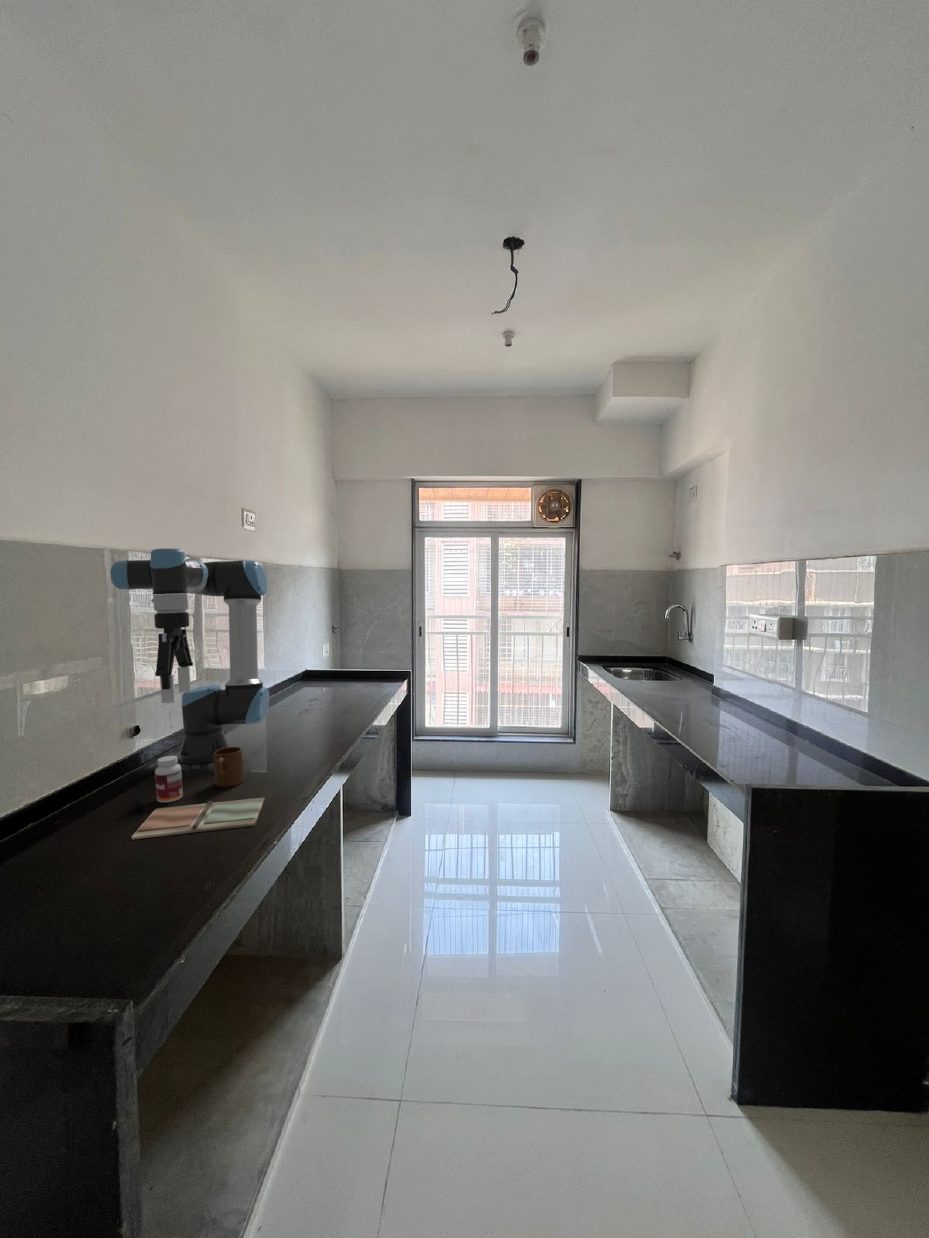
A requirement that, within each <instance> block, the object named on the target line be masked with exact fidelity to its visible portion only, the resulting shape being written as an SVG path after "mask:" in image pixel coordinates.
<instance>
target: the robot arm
mask: <svg viewBox="0 0 929 1238" xmlns="http://www.w3.org/2000/svg"><path fill="white" fill-rule="evenodd" d="M109 572H110V580H111V583H112V584H113V586H114V587H115V588H116V589H119V590H128V591H130V590H152V597H153V598H151V600H150V601H151V603H153V611H155V612H156V613H155V614H154V628H156V629H159V630H163V633H158V648H157V658H156V669H155V672H154V673H155V674H154V675H155V677H159V680H160V681H159V682H160V683H159V684H160V694H161V695H160V696H161V697H160V698H161V704H169V703H170V704H171V703H175V702H176V697H175V696H176V695H175V682H174V681H175V678H174V674H173V668H174V662H175V659H176V663H177V665H178V667H177V669H176V670H177V680H178V681H177V682H178V683H177V684H178V693H182V695H181V710H182V711H181V713H182V714H181V715H182V724H183V739H182V743H181V746H180V750H179V754H178V757H179V763H182V764H186V765H187V764H189V765H198V764H206V763H207V764H208V763H213V762H214V752H215V751H217V750H219V749H223V748H228V747H230V745H229V742H228V740H227V738H226V736H225V733H224V731H223V726H231V725H232V726H235V725H247V726H249V725H254V724H260V723H261V722H263V721H264V719H266V716H267V714H268V711H269V706H270V691H269V689H268V688H266V686H265V687H264V684H263V683H264V682H263V680H261V679H260V678H259V674H258V673H259V672H258V671H259V670H258V666H259V665H258V620H257V619H258V616H257V612H258V611H257V607H258V605H259V604H260V603H261V602H262V596H264V595H266V594H267V592H268V580H267V575H266V572H265V570H264V567H263V566H262V564H260V562H259V561H256V560H245V559H243V560H224V561H221V560H220V561H214V560H213V561H206V562H203V561H201V560H198V559H195V558H186V555H185V551H184V550H183V549H180V548H165V547H164V548H155V549H152V550H151V552H150V559H146V560H145V559H141V560H140V559H137V560H136V559H135V560H129V559H126V560H118V561H115V562H114V563H113V564H112V565H111V567H110V571H109ZM188 594H189V595H191V594H192V595H194V594H195V595H200V596H201V595H202V596H209V597H223V602H224V603H225V604H226V605H227V606H228V630H229V631H228V632H229V633H228V636H229V642H228V643H229V680H227V682H226V683H224V689H222V687H221V685H219V684H210V685H205V686H201V687H195V688H193V689H192V687H191V686H192V685H191V669H190V667H193V665H194V663H193V660H192V655H191V653H190V652H191V651H190V646H189V643H188V637H187V629H186V628H188V627H189V626H190V615H189V613H188V611H187V610H189V599H188V596H189V595H188ZM182 628H183V629H182Z"/></svg>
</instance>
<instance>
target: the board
mask: <svg viewBox="0 0 929 1238" xmlns="http://www.w3.org/2000/svg"><path fill="white" fill-rule="evenodd" d="M264 803H265V797H258V798H257V797H256V798H247V799H246V798H245V799H238V800H227V801H219V802H218V801H216V802H213V801H212V800H208V802H207V803H200V804H189V805H188V804H187V805H180V806H179V805H177V806H169V807H158V808H155V809H153V811H152V812H151V814H150V815H149V816H148V817H147V818H146V819H145V820H144V821H143V823H142V824H141V825H140V826H139V827H138V829H136V831H135V832H134V833H133V835H131V840H139V839H146V838H148V839H149V838H156V837H165V836H166V837H167V836H172V835H173V836H174V835H183V834H191V833H199V832H200V833H201V832H211V831H217V830H226V829H234V828H244V827H252V826H255V825H256V823H257V820H258V818H259V816H260V815H259V814H260V812H261V810H262V807H263V805H264Z"/></svg>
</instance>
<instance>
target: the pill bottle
mask: <svg viewBox="0 0 929 1238" xmlns="http://www.w3.org/2000/svg"><path fill="white" fill-rule="evenodd" d="M156 761H157V762H156V763H157V766H158V767H157V768H156V769H155V770H154V777H155V791H156V801H157V802H159V803H164V804H165V803H172V802H175V801H178V800H181V798H183V796H184V795H183V794H184V792H183V790H184V789H183V776H182V775H183V773H182V766H181V765H180V764H179V763H178V762H179V760H178V756H177V755H167V756H162V757H160V758H158V759H157V760H156Z"/></svg>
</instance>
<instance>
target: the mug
mask: <svg viewBox="0 0 929 1238" xmlns="http://www.w3.org/2000/svg"><path fill="white" fill-rule="evenodd" d="M243 755H244V754H243V749H242V747H239V746H238V747H237V746H231V747H230V746H229V747H228V748H223V749H219V750H217V751H215V752H214V761H213V769H214V770H213V771H214V782H215V786H217V787H218V788H219V787H220V788H230V787H235V786H238V785H241V783H243V781H244V779H245V776H244V775H245V773H244V756H243Z"/></svg>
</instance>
